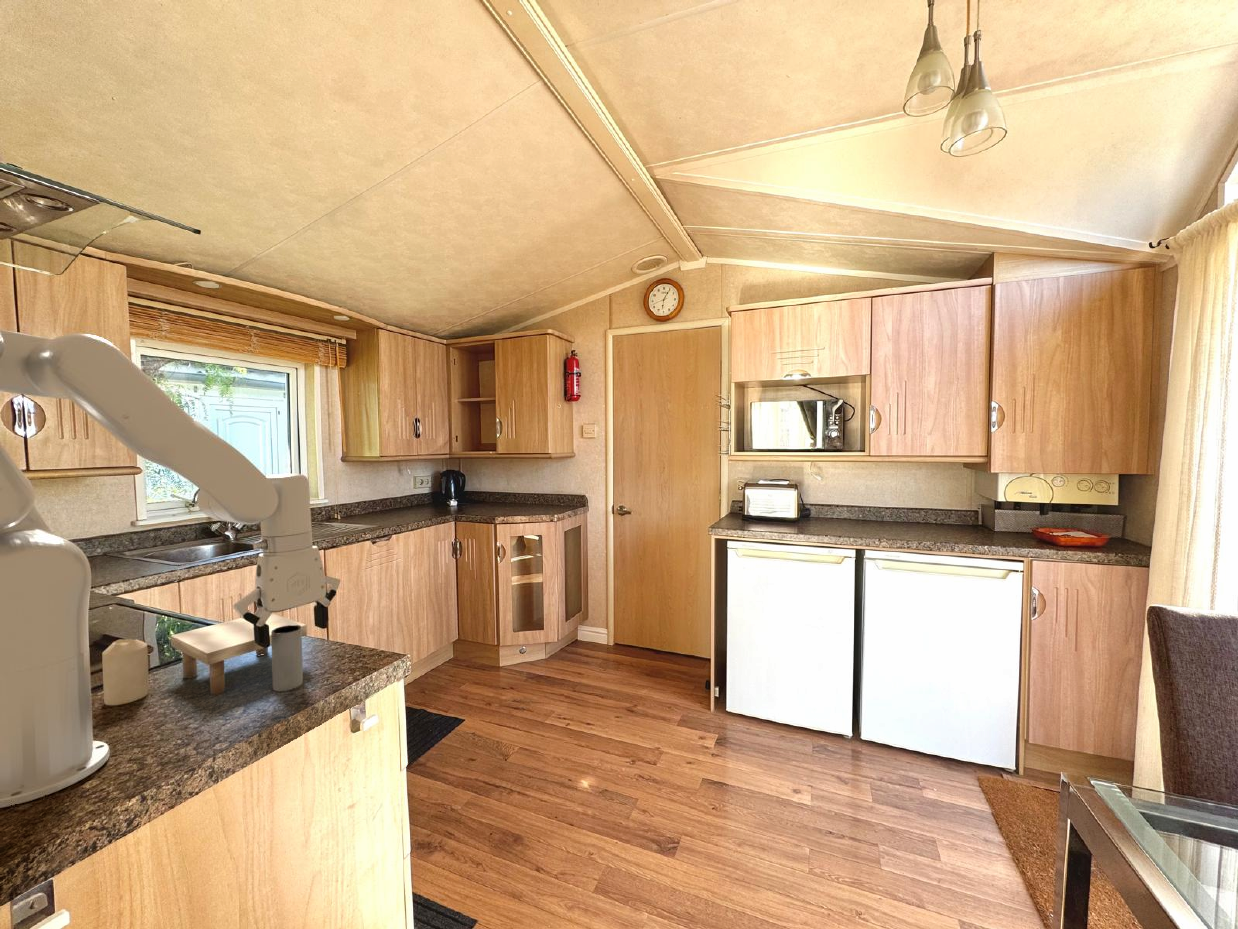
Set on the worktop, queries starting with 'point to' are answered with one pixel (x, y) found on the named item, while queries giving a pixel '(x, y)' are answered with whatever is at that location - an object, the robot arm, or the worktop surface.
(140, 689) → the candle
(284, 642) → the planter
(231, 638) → the stool
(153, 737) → the worktop surface
